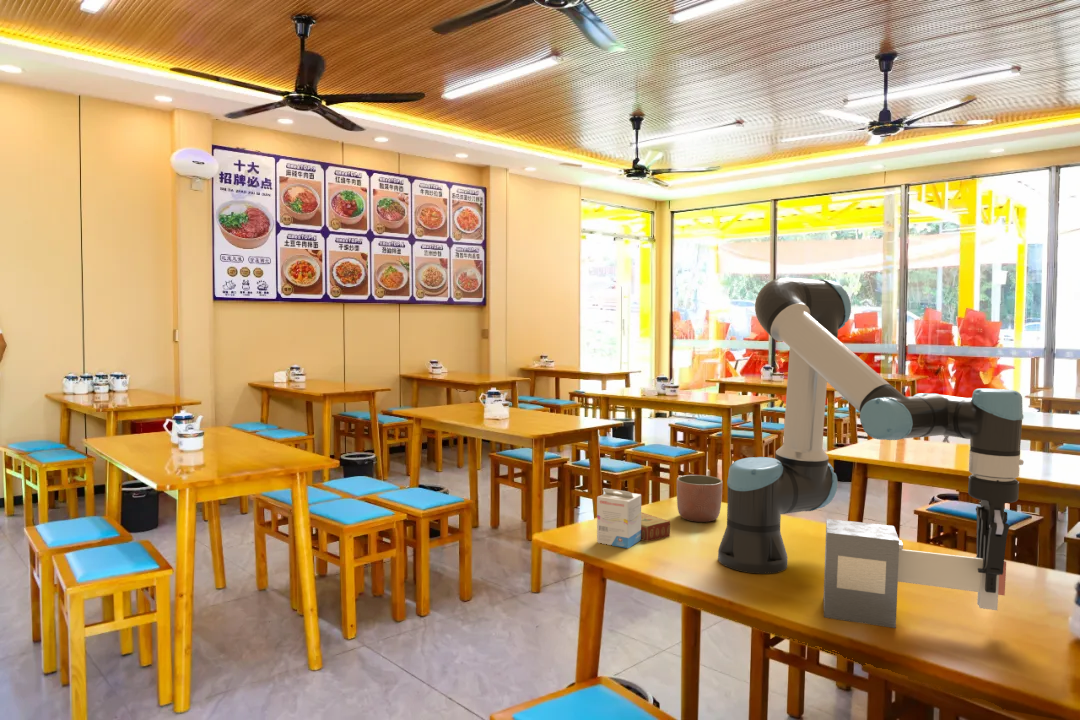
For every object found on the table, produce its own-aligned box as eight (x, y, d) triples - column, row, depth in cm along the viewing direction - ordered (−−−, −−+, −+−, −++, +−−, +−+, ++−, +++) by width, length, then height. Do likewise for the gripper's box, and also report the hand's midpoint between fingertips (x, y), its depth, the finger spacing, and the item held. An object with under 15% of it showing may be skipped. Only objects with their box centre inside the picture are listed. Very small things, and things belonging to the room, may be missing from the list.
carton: (646, 542, 177) (646, 525, 176) (604, 527, 190) (605, 511, 190) (670, 537, 181) (670, 520, 181) (628, 522, 195) (628, 506, 194)
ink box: (642, 540, 178) (643, 487, 177) (627, 549, 170) (628, 494, 170) (611, 534, 182) (612, 482, 181) (595, 542, 175) (596, 489, 174)
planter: (676, 523, 193) (677, 483, 192) (675, 511, 205) (676, 473, 204) (723, 526, 191) (724, 485, 190) (719, 513, 203) (720, 475, 202)
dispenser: (824, 617, 132) (827, 532, 131) (823, 597, 142) (826, 518, 141) (902, 629, 127) (905, 541, 127) (896, 608, 137) (899, 526, 136)
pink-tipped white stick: (891, 580, 132) (892, 549, 132) (891, 579, 133) (892, 548, 132) (1004, 595, 126) (1006, 562, 125) (1003, 594, 126) (1005, 561, 126)
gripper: (1029, 486, 118) (1022, 625, 119) (1008, 470, 131) (1002, 596, 132) (977, 482, 121) (970, 618, 122) (962, 467, 133) (956, 590, 135)
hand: (987, 606), depth 127 cm, fingers closed, pressing on pink-tipped white stick
